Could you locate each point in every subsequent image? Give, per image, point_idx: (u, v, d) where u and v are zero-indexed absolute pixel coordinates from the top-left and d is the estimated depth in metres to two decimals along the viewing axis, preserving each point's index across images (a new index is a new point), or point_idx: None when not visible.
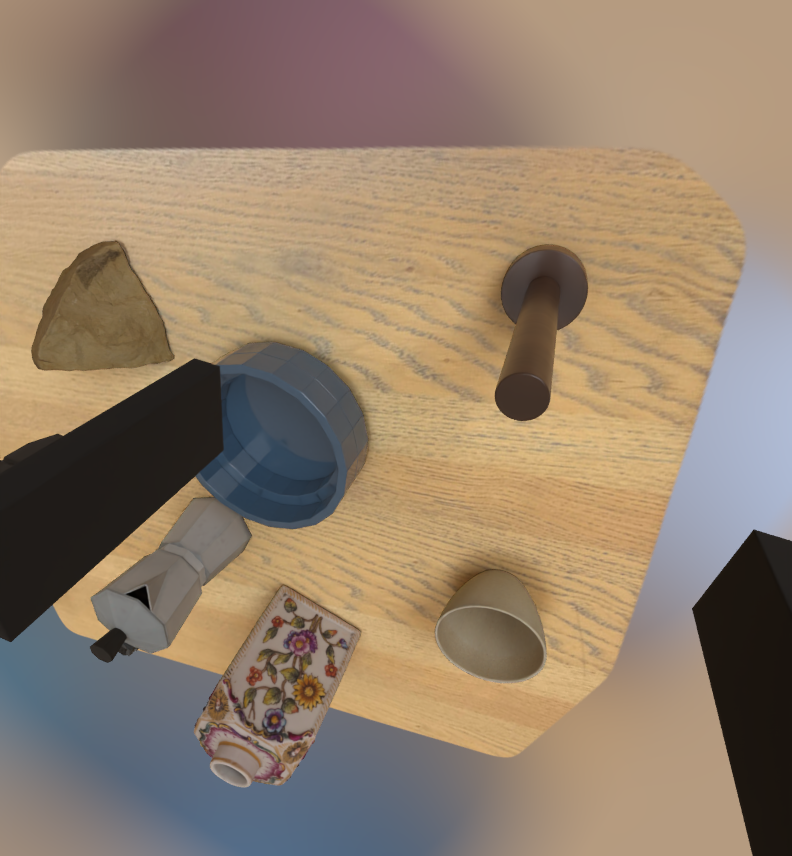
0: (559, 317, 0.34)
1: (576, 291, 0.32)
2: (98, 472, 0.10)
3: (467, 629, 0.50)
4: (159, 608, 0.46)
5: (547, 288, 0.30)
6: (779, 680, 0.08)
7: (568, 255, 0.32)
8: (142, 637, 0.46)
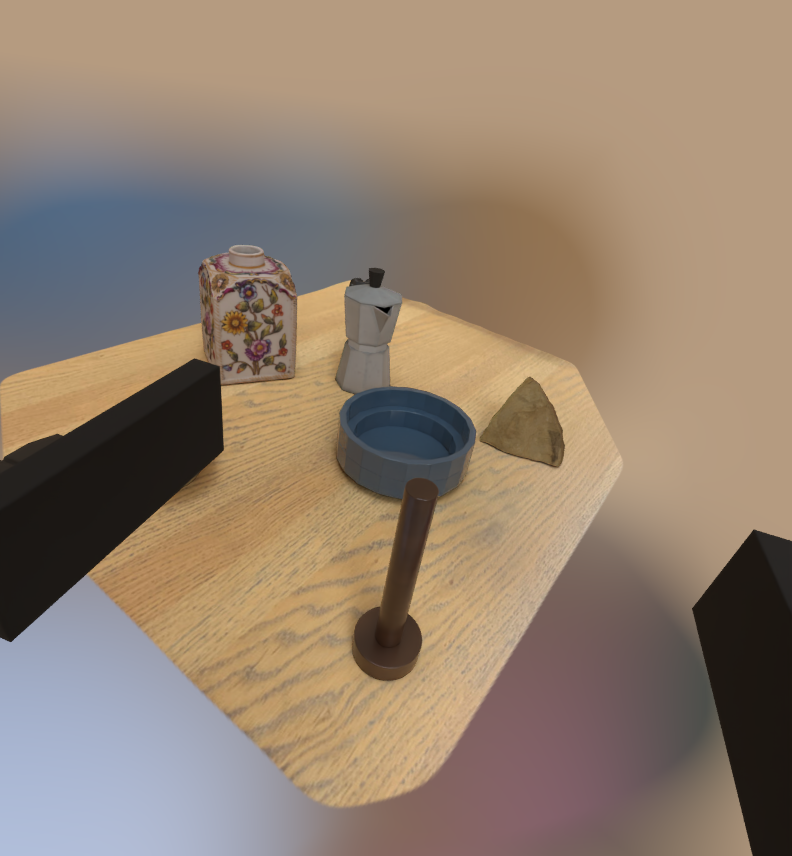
0: (363, 634, 0.40)
1: (374, 655, 0.39)
2: (98, 472, 0.10)
3: None
4: (369, 310, 0.68)
5: (402, 624, 0.38)
6: (779, 680, 0.08)
7: (403, 666, 0.39)
8: (362, 291, 0.69)
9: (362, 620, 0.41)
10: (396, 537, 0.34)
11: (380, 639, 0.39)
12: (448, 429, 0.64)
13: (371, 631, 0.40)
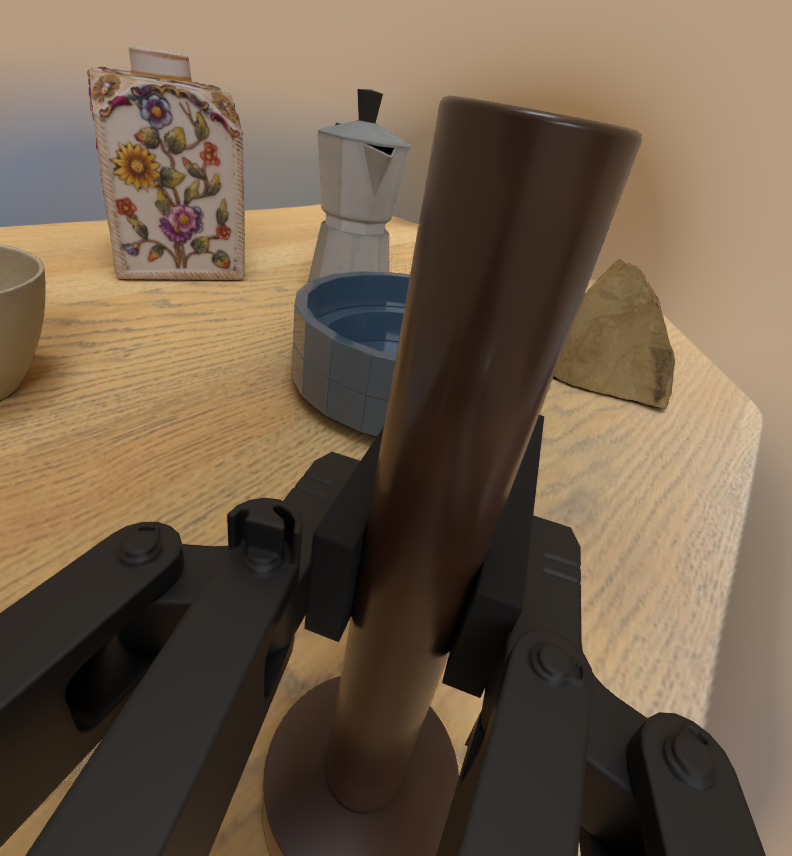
0: (292, 765, 0.14)
1: (318, 844, 0.13)
2: None
3: None
4: (357, 152, 0.42)
5: (404, 756, 0.12)
6: None
7: None
8: (347, 125, 0.43)
9: (294, 717, 0.15)
10: (385, 439, 0.07)
11: (338, 789, 0.13)
12: None
13: (315, 756, 0.14)
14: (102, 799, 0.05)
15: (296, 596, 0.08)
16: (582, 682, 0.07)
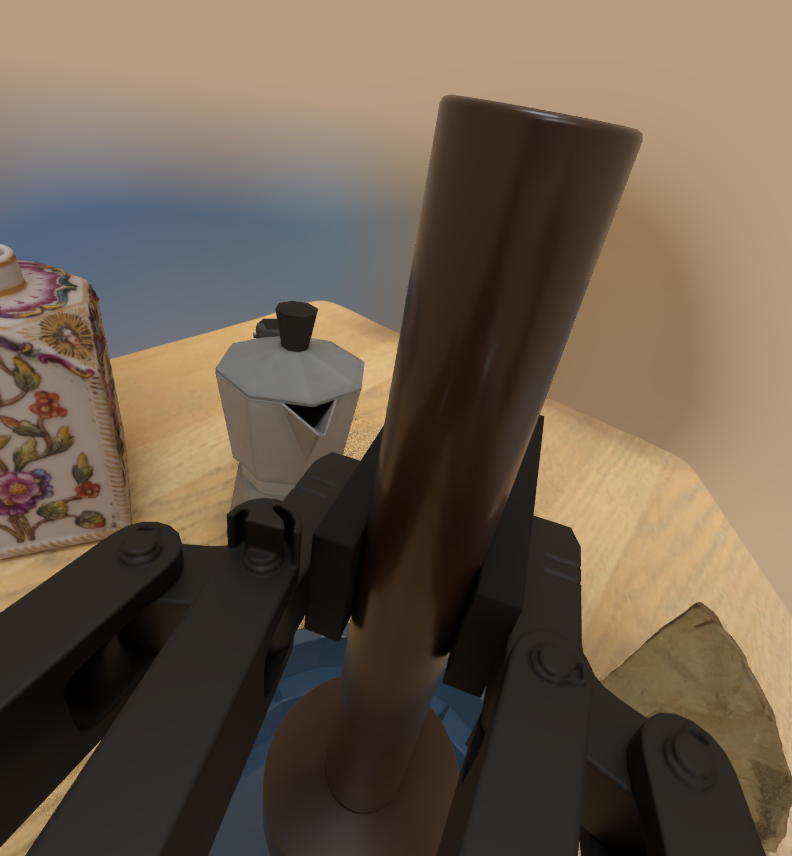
0: (292, 765, 0.14)
1: (317, 845, 0.13)
2: None
3: None
4: (273, 413, 0.26)
5: (404, 757, 0.12)
6: None
7: None
8: (262, 359, 0.27)
9: (294, 718, 0.15)
10: (385, 439, 0.07)
11: (338, 790, 0.13)
12: None
13: (315, 756, 0.14)
14: (102, 799, 0.05)
15: (296, 596, 0.08)
16: (582, 682, 0.07)
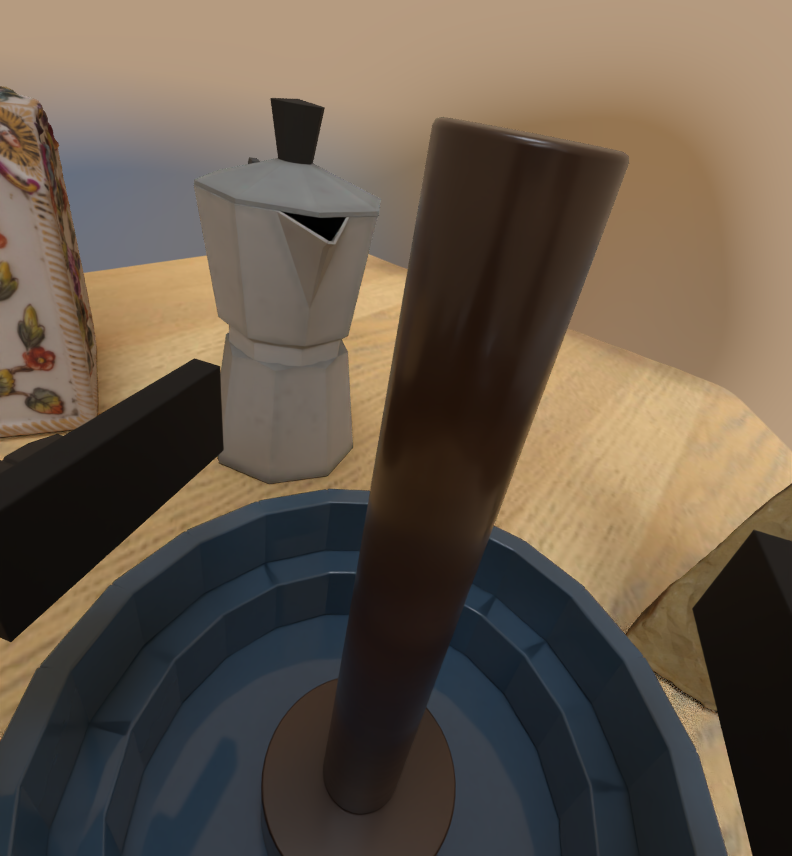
0: (290, 767, 0.14)
1: (315, 845, 0.13)
2: (98, 472, 0.10)
3: None
4: (268, 228, 0.20)
5: (401, 758, 0.12)
6: (779, 680, 0.08)
7: None
8: (253, 170, 0.22)
9: (292, 719, 0.15)
10: (380, 449, 0.08)
11: (335, 791, 0.13)
12: (538, 670, 0.17)
13: (312, 757, 0.14)
14: None
15: None
16: None
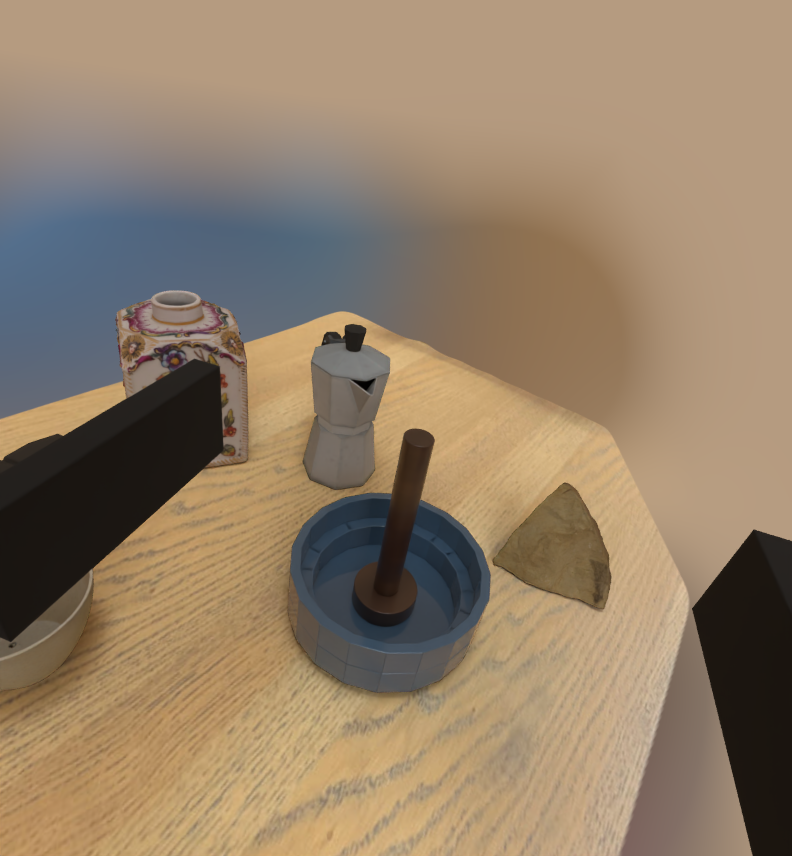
0: (362, 584, 0.43)
1: (372, 602, 0.41)
2: (98, 472, 0.10)
3: None
4: (344, 384, 0.49)
5: (399, 572, 0.41)
6: (779, 680, 0.08)
7: (399, 612, 0.41)
8: (336, 356, 0.50)
9: (362, 572, 0.44)
10: (394, 485, 0.36)
11: (378, 588, 0.42)
12: (450, 559, 0.46)
13: (370, 582, 0.43)
14: None
15: None
16: None
